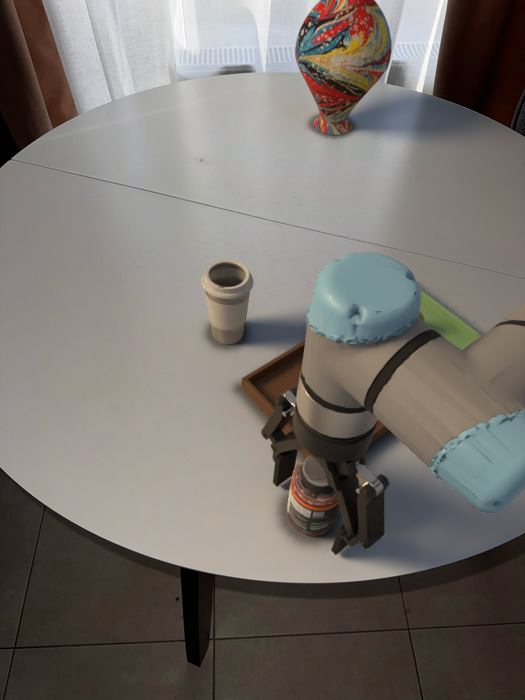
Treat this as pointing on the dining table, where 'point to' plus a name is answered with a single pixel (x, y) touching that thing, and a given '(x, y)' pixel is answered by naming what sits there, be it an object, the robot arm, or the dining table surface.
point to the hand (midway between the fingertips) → (311, 510)
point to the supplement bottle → (311, 499)
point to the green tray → (446, 322)
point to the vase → (342, 57)
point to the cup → (227, 298)
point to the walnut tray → (282, 385)
